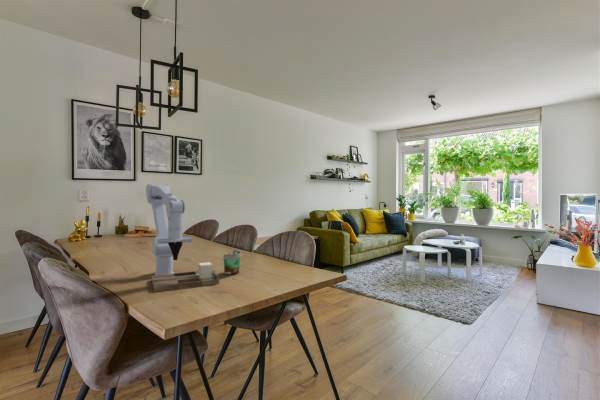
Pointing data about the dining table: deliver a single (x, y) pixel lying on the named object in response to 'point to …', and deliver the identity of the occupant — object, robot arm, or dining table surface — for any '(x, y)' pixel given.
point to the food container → (232, 263)
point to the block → (205, 269)
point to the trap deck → (182, 280)
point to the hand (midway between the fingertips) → (175, 259)
